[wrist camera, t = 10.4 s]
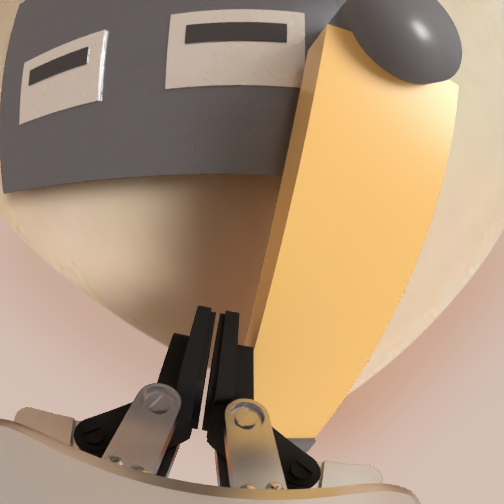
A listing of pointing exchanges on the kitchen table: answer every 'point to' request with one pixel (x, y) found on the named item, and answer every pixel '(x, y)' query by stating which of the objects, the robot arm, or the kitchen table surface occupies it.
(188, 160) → the plate
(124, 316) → the kitchen table surface
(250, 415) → the robot arm
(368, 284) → the bar
